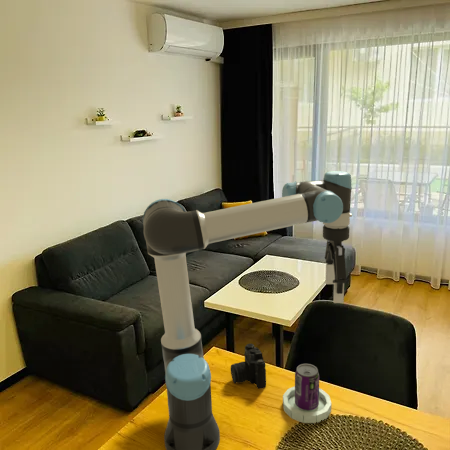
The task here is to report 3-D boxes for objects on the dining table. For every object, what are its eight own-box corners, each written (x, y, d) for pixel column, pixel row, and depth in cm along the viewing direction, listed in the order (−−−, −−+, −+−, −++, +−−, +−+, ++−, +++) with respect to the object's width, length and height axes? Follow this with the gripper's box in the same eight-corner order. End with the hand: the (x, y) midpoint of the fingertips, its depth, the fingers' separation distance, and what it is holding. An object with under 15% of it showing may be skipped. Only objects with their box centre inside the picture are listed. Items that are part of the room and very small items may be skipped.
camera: (226, 369, 152) (225, 343, 149) (256, 364, 154) (255, 339, 151) (237, 393, 139) (236, 366, 136) (269, 387, 141) (268, 360, 138)
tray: (285, 422, 125) (285, 415, 124) (281, 391, 138) (281, 385, 138) (334, 423, 124) (334, 415, 124) (326, 391, 138) (326, 385, 137)
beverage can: (318, 413, 127) (319, 378, 124) (294, 411, 129) (294, 375, 125) (318, 397, 134) (319, 363, 130) (295, 395, 135) (295, 361, 132)
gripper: (359, 237, 114) (356, 311, 119) (340, 214, 138) (338, 276, 143) (330, 238, 114) (328, 311, 120) (316, 214, 138) (315, 277, 144)
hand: (333, 292), depth 132 cm, fingers open, 13 cm apart
